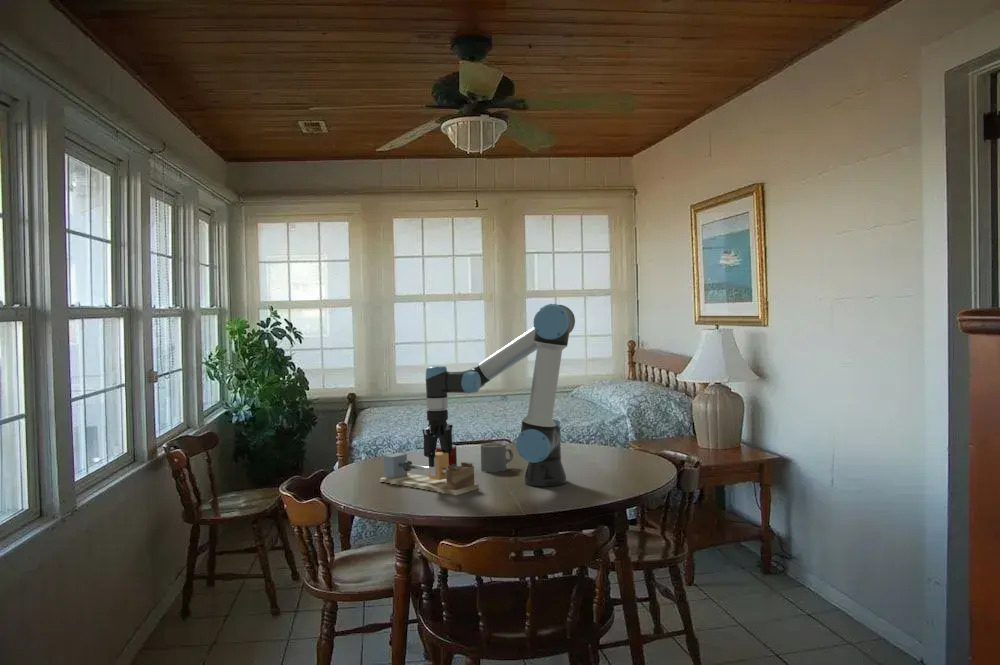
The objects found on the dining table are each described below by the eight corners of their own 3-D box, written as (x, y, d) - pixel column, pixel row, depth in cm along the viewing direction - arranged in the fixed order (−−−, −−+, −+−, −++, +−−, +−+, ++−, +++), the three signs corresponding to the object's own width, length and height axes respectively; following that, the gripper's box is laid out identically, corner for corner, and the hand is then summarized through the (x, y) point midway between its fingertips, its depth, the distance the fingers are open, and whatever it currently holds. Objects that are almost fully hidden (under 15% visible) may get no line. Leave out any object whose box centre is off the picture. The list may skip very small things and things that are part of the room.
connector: (407, 475, 268) (406, 454, 268) (393, 478, 263) (393, 457, 263) (398, 473, 271) (397, 452, 271) (384, 477, 266) (383, 455, 266)
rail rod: (459, 477, 250) (459, 466, 250) (452, 479, 247) (452, 468, 247) (402, 468, 268) (401, 458, 268) (394, 470, 265) (394, 460, 265)
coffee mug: (484, 473, 275) (483, 447, 275) (479, 468, 285) (478, 443, 285) (517, 470, 278) (516, 445, 278) (511, 465, 288) (510, 441, 288)
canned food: (454, 476, 271) (453, 447, 271) (434, 476, 273) (433, 447, 272) (459, 472, 278) (458, 444, 278) (439, 471, 280) (439, 444, 280)
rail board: (478, 488, 250) (477, 462, 250) (456, 495, 241) (455, 468, 240) (402, 476, 273) (402, 452, 273) (379, 482, 264) (379, 457, 264)
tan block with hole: (449, 477, 254) (448, 453, 254) (439, 480, 250) (438, 455, 250) (438, 475, 257) (438, 451, 257) (429, 478, 253) (428, 454, 253)
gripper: (446, 406, 263) (448, 468, 263) (411, 411, 248) (413, 477, 249) (461, 407, 258) (463, 470, 258) (427, 412, 244) (429, 480, 244)
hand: (439, 473), depth 253 cm, fingers closed on tan block with hole, 5 cm apart
